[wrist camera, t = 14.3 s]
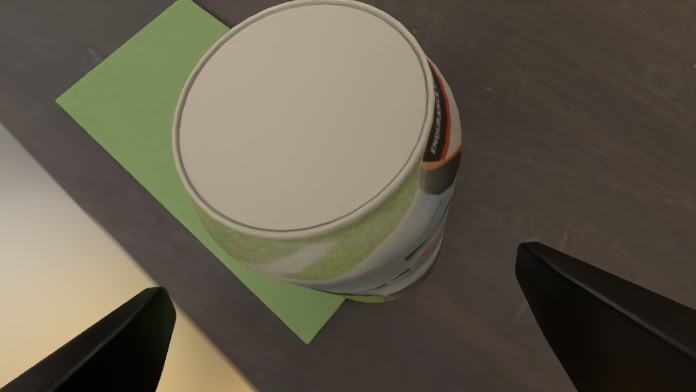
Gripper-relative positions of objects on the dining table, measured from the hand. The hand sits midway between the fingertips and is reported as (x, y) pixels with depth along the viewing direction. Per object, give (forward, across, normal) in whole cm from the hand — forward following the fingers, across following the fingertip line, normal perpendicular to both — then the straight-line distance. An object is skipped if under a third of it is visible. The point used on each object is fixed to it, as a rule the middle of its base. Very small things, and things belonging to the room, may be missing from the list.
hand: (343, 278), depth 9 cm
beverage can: (+8, -1, +4) cm, 9 cm away
